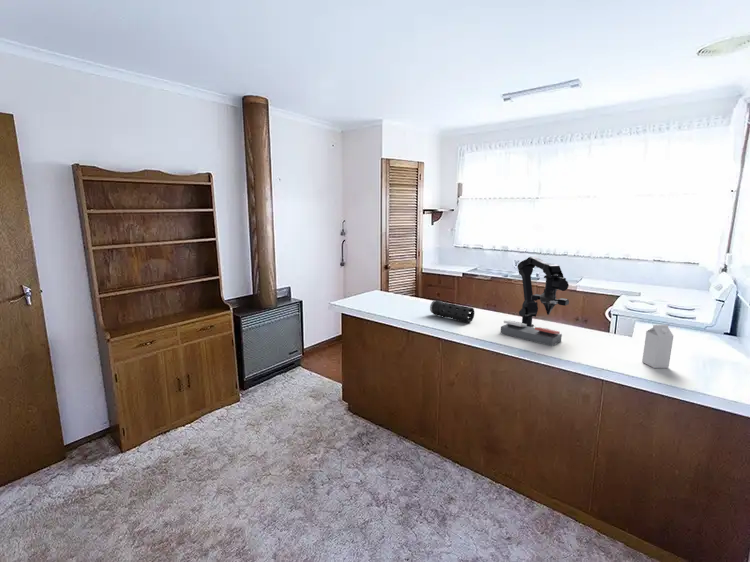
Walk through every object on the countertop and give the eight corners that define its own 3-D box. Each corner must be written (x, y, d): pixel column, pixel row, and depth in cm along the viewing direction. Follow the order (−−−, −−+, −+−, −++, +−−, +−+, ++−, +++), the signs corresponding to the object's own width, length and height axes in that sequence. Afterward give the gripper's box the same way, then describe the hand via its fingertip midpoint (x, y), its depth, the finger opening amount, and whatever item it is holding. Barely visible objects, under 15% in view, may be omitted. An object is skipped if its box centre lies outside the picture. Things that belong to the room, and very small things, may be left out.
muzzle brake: (466, 325, 236) (467, 308, 234) (428, 316, 255) (429, 301, 253) (474, 322, 243) (475, 306, 241) (437, 313, 261) (437, 298, 260)
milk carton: (641, 362, 179) (647, 322, 176) (656, 362, 180) (661, 322, 177) (653, 368, 172) (660, 327, 169) (668, 368, 173) (675, 327, 170)
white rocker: (509, 322, 226) (510, 320, 226) (526, 326, 219) (526, 324, 219) (503, 322, 220) (503, 320, 220) (520, 326, 213) (520, 324, 213)
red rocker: (540, 329, 213) (541, 327, 213) (559, 333, 206) (559, 331, 206) (534, 329, 207) (535, 327, 207) (553, 333, 200) (554, 331, 200)
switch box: (510, 329, 228) (510, 321, 228) (561, 340, 208) (561, 332, 207) (500, 333, 220) (500, 325, 219) (552, 346, 200) (553, 337, 199)
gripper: (527, 286, 214) (525, 313, 216) (562, 291, 201) (560, 320, 203) (536, 284, 221) (534, 310, 224) (570, 289, 208) (567, 317, 211)
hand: (548, 314), depth 215 cm, fingers closed
